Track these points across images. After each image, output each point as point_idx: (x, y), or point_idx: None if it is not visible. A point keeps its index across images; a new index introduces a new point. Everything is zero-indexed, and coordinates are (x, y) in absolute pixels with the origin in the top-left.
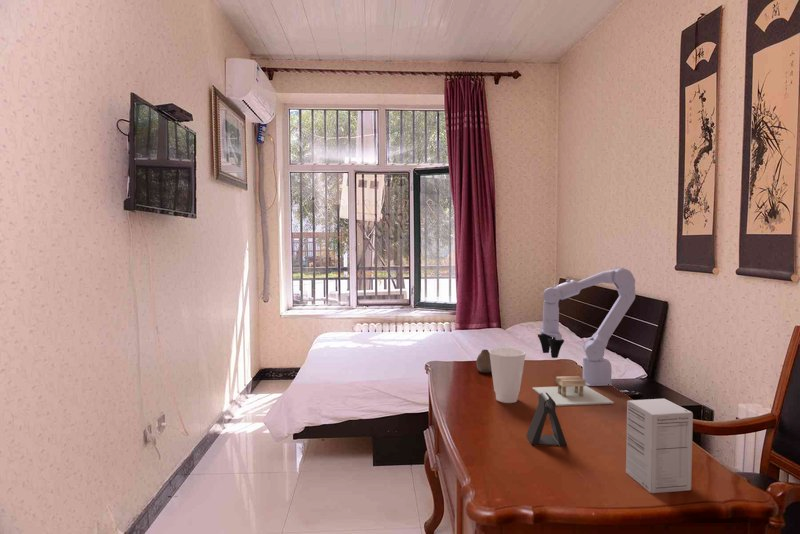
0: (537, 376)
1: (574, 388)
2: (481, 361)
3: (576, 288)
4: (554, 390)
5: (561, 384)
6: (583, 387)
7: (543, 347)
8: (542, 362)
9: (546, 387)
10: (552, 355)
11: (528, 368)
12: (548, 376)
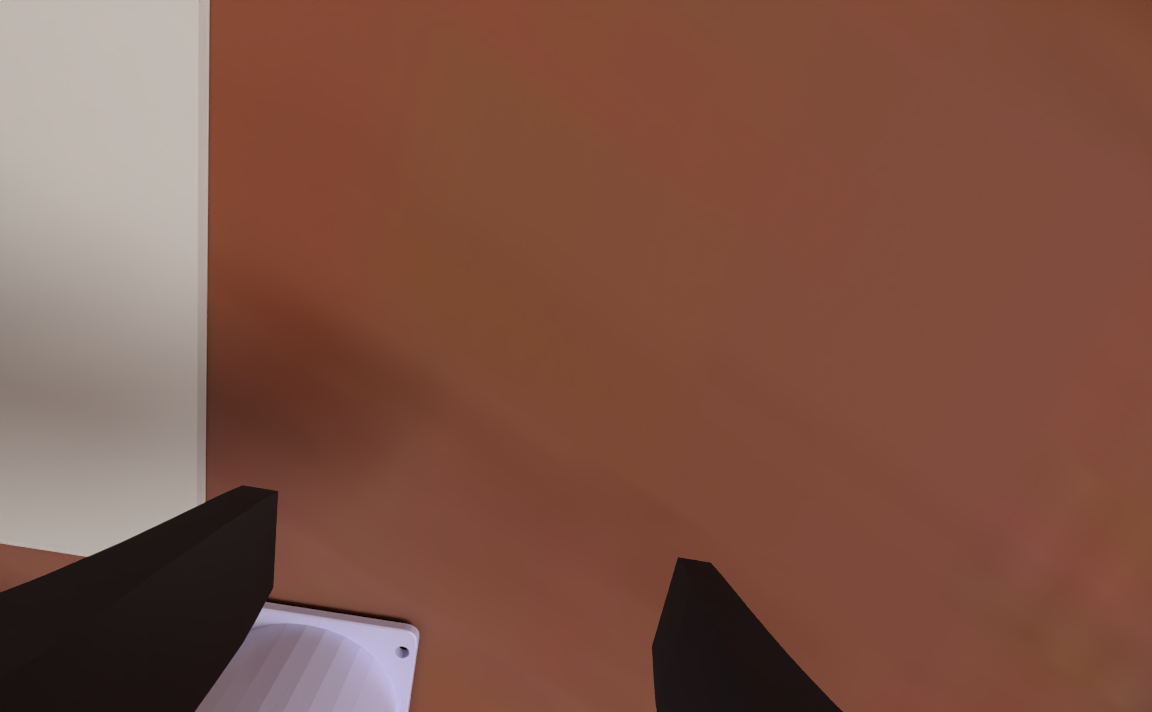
0: (684, 331)
1: (103, 412)
2: None
3: None
4: (40, 144)
5: None
6: (131, 516)
7: (710, 647)
8: (1117, 689)
9: (175, 123)
10: (201, 511)
11: (1013, 426)
12: (639, 447)
